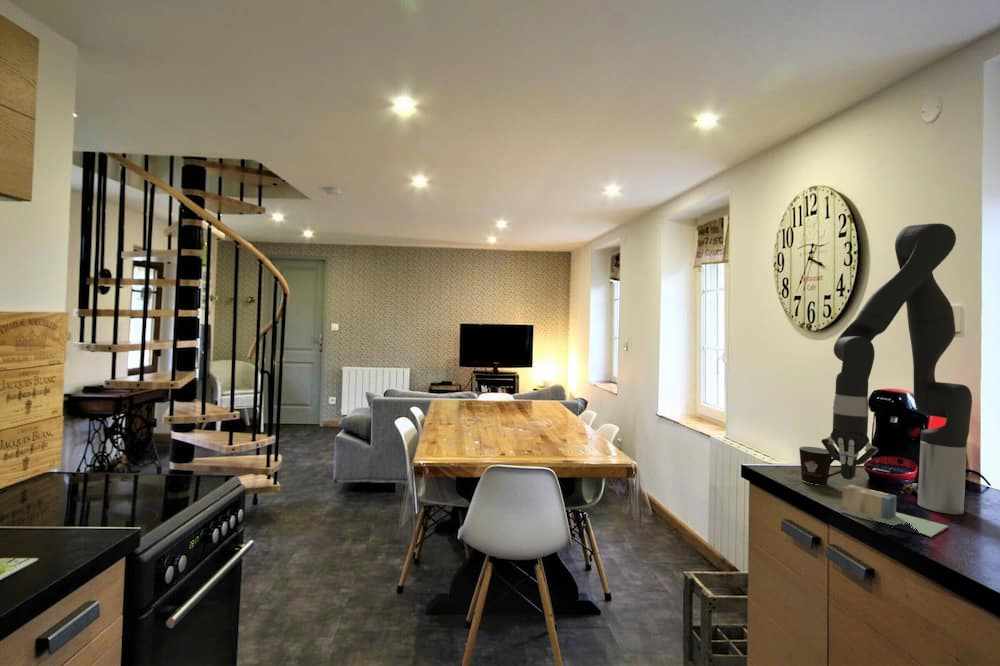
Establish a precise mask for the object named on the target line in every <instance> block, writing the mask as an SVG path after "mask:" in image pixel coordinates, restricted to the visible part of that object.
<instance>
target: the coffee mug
mask: <svg viewBox="0 0 1000 666" xmlns="http://www.w3.org/2000/svg"><path fill="white" fill-rule="evenodd" d="M798 449H799V450H798V451H799V460H800V471H801V472H800V473H801V481H802V480H804V481H806V482H809V483H813V484H819V485H826V484H828V480H829V478H830V477H832V476H835V475H838V474H841V470H838V471H835V472H833V473H830V469H831V465H832V464H833V462H835V460H834V459H833V458H832V456H831V455H830V453H829V452H828V451H827V449H826V448H823V447H818V446H817V447H815V446H799V448H798ZM826 486H827V485H826Z"/></svg>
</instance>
